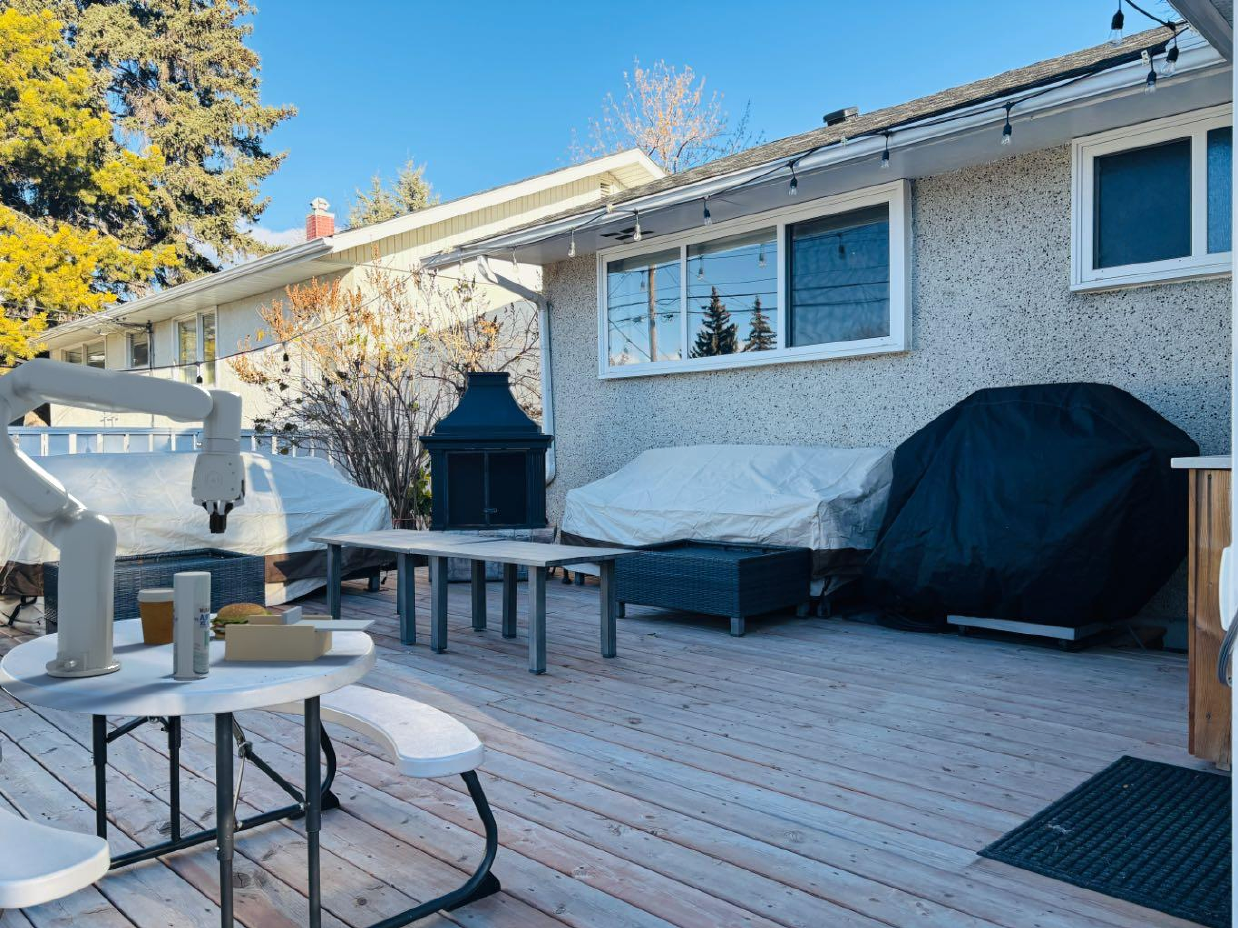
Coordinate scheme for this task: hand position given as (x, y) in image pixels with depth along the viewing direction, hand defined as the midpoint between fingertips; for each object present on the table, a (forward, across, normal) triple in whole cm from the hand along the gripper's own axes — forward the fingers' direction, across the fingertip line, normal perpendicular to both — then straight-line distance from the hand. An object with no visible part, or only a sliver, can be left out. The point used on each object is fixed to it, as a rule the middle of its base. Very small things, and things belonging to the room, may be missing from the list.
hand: (217, 533), depth 197 cm
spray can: (+27, +6, -20) cm, 34 cm away
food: (+26, -4, +23) cm, 35 cm away
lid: (+19, +25, -1) cm, 31 cm away
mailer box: (+26, +15, -1) cm, 30 cm away
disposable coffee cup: (+27, -19, +14) cm, 36 cm away
